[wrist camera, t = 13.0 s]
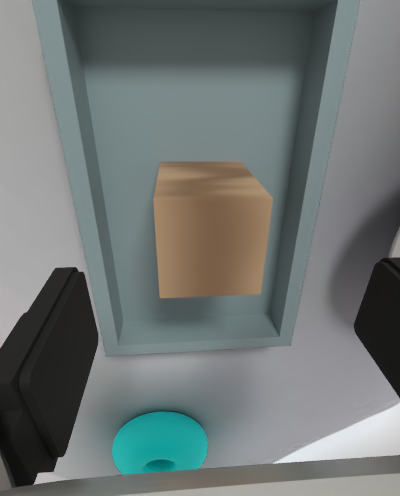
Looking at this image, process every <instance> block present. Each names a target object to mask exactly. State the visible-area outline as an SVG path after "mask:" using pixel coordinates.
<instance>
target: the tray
mask: <svg viewBox="0 0 400 496" xmlns="http://www.w3.org/2000/svg"><path fill="white" fill-rule="evenodd" d="M32 4H33V9H34V13H35V18H36V23H37V28H38V33H39V37H40V42H41V47H42V52H43V56H44V61H45V66H46V71H47V76H48V80H49V85H50V90H51V95H52V100H53V104H54V109H55V114H56V119H57V123H58V128H59V133H60V138H61V143H62V147H63V152H64V157H65V162H66V166H67V171H68V176H69V181H70V186H71V190H72V195H73V200H74V205H75V210H76V214H77V219H78V224H79V229H80V233H81V238H82V243H83V248H84V253H85V257H86V262H87V267H88V272H89V276H90V281H91V286H92V291H93V296H94V300H95V305H96V310H97V315H98V320H99V324H100V329H101V334H102V339H103V343H104V348H105V353H106V356H120V355H137V354H154V353H171V352H188V351H206V350H223V349H240V348H257V347H274V346H291V341H292V336H293V331H294V326H295V321H296V316H297V311H298V306H299V301H300V296H301V292H302V287H303V282H304V277H305V272H306V267H307V262H308V257H309V252H310V247H311V242H312V237H313V232H314V227H315V222H316V217H317V212H318V207H319V202H320V197H321V192H322V187H323V183H324V178H325V173H326V168H327V163H328V158H329V153H330V148H331V143H332V138H333V133H334V128H335V123H336V118H337V113H338V108H339V103H340V98H341V93H342V88H343V83H344V78H345V74H346V69H347V64H348V59H349V54H350V49H351V44H352V39H353V34H354V29H355V24H356V19H357V14H358V9H359V4H360V0H32ZM196 161H241V162H242V163H243V164H244V166H245V167H246V168H247V169H248V170H249V171H250V172H251V174H252V175H253V176H254V177H255V178H256V179H257V181H258V182H259V183H260V184H261V185H262V186H263V187H264V189H265V190H266V191H267V192H268V193H269V194H270V196H271V197H272V198H273V203H272V211H271V219H270V226H269V234H268V242H267V249H266V257H265V264H264V272H263V280H262V287H261V294H256V295H231V296H206V297H181V298H160V293H159V279H158V264H157V249H156V235H155V220H154V205H153V199H154V193H155V188H156V182H157V176H158V171H159V165H160V162H196Z"/></svg>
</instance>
